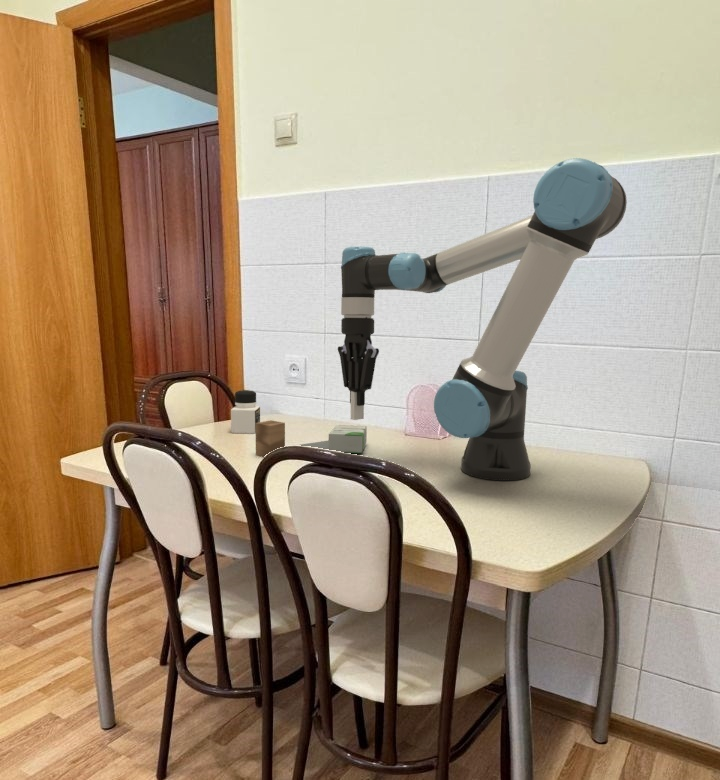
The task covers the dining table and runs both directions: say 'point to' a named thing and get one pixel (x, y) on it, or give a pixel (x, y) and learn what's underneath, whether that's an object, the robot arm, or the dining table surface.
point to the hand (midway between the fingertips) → (357, 418)
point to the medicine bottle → (245, 412)
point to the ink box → (348, 438)
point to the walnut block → (269, 436)
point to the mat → (318, 444)
